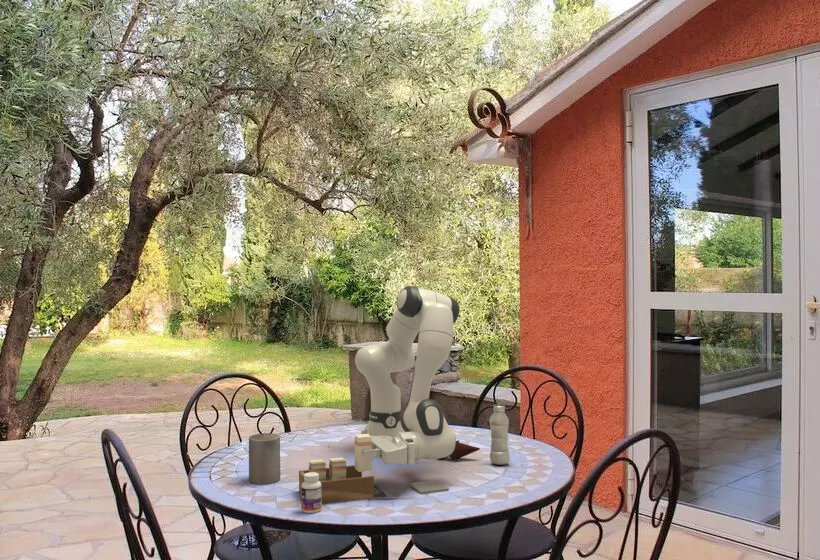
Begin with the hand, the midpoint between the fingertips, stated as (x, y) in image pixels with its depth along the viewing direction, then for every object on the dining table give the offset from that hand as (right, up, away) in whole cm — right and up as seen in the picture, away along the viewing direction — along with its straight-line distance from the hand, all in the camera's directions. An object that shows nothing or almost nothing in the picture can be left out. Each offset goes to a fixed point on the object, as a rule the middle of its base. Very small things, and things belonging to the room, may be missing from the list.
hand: (360, 450), depth 200 cm
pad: (+20, -12, +3) cm, 24 cm away
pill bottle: (-12, -12, -16) cm, 24 cm away
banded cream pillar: (+1, -6, 0) cm, 6 cm away
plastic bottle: (+45, -12, +29) cm, 55 cm away
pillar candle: (-31, -12, +12) cm, 35 cm away
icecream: (+31, -12, +35) cm, 49 cm away
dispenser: (-5, -12, -2) cm, 13 cm away
